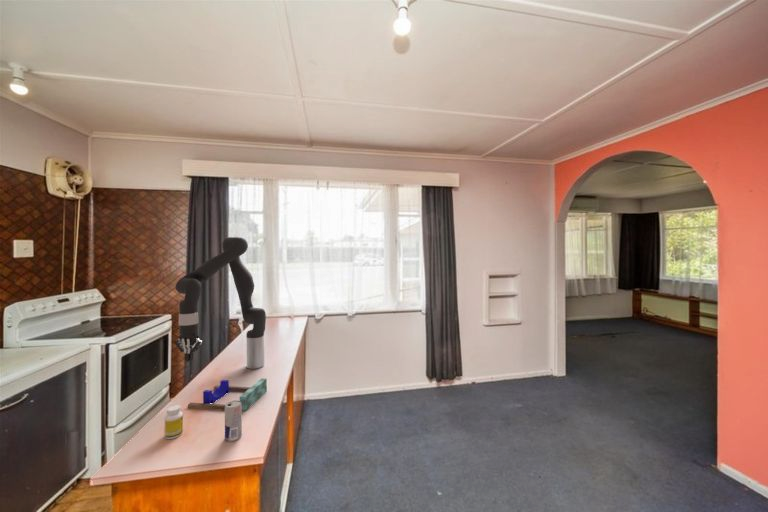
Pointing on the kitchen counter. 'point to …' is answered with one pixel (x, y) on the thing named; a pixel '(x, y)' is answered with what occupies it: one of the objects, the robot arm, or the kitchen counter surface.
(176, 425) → the supplement bottle
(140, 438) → the kitchen counter surface
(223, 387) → the cable clip
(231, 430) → the energy drink
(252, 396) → the guide channel
